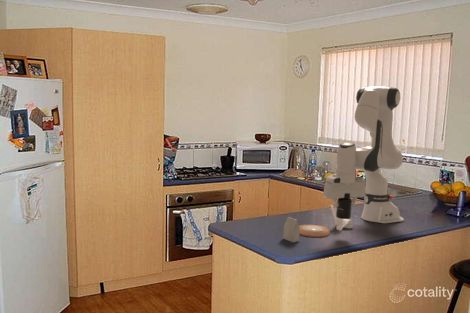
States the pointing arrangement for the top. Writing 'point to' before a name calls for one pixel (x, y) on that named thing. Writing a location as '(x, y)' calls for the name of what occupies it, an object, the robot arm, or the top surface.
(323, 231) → the peach rimmed plate
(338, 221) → the plastic part
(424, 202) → the top surface
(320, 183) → the top surface
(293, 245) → the top surface
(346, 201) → the supplement bottle
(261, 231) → the top surface
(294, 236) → the tea bag
